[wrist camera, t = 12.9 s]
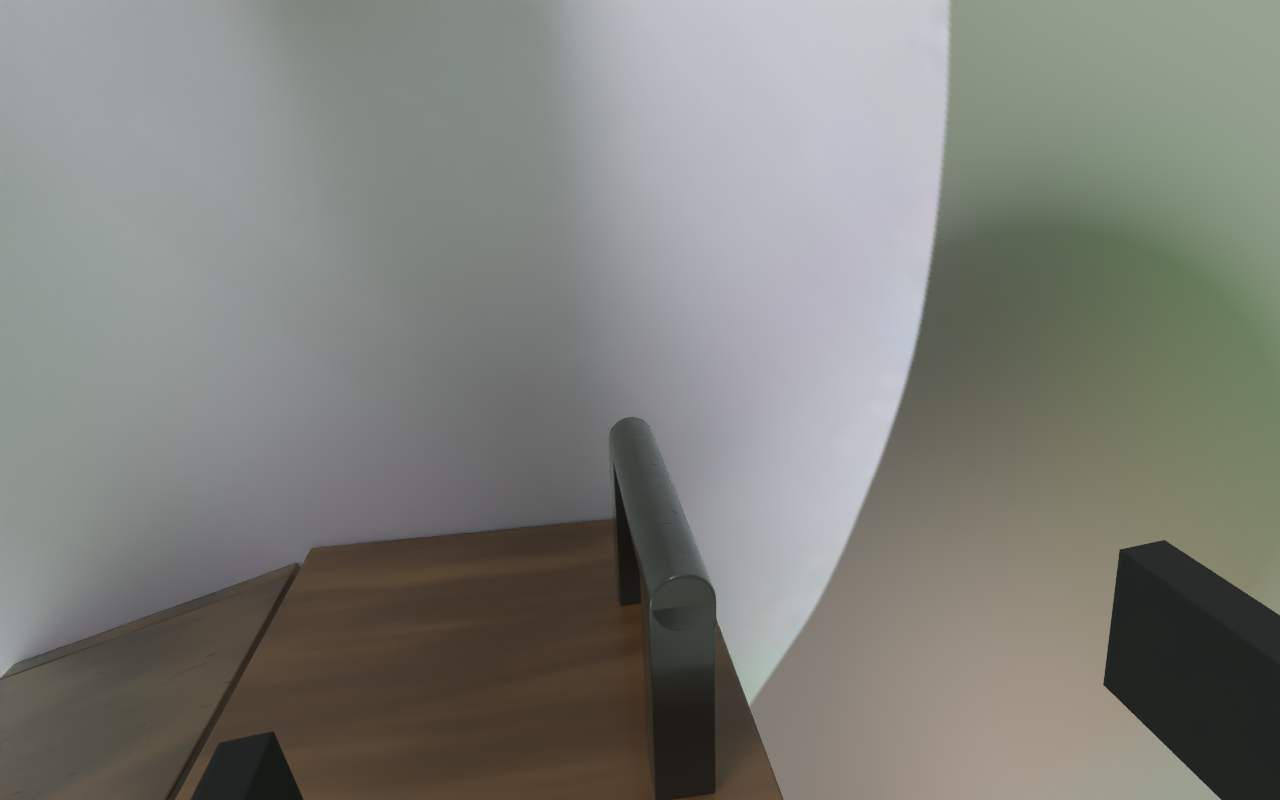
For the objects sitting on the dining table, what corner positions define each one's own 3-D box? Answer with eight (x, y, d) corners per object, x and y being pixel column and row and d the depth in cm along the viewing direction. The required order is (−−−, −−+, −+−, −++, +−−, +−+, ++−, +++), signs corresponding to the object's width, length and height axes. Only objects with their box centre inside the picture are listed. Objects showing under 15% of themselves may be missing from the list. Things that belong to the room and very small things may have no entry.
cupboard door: (277, 399, 29) (-175, 864, 10) (674, 370, 31) (880, 722, 12) (315, 567, 32) (8, 1169, 13) (677, 531, 33) (850, 1016, 15)
